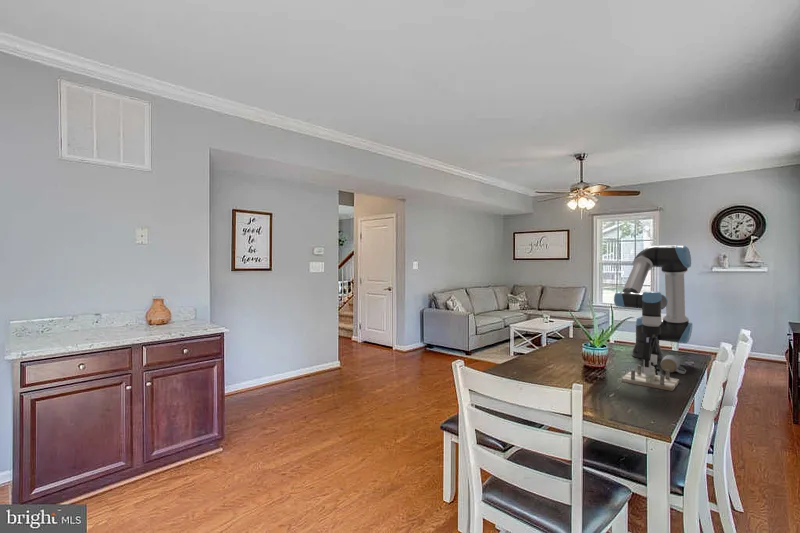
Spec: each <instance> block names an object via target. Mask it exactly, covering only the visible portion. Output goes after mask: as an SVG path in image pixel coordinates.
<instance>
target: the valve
mask: <svg viewBox="0 0 800 533" xmlns="http://www.w3.org/2000/svg"><path fill="white" fill-rule="evenodd" d="M653 366H654V367H653ZM658 367H659V365H658V363H657V364H656V365H653V362H651V375H648V374H645V376H646V381H647V382H654V381H655V376H656V375H657V376H659V373H658V372H660V371H661V369H660V368H658Z"/></svg>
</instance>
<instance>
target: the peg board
mask: <svg viewBox="0 0 800 533" xmlns="http://www.w3.org/2000/svg"><path fill="white" fill-rule="evenodd" d="M636 367H637V371H636V370H635V369H631V370H630V371H629V372H627V373H626V374H625V375H623V376H622V377H621V382H623V383H628V384H633V385H639V386H644V387H650V388H655V389H659V390H666V391H670V392H673V391H674V389H676V387H677V386H678V385H679V383H680V378H679V379H678V378H673V377H670V376H671V375H670V374H671V373H670V370H667V369H666V372H665V374H664V375H663V374H659V375H656V376H655V381H654V382H647V381H646V376H645V374H643V372H642V365H640V364H637V366H636Z"/></svg>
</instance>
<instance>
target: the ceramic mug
mask: <svg viewBox="0 0 800 533" xmlns="http://www.w3.org/2000/svg"><path fill="white" fill-rule="evenodd" d="M660 368H661V369H662V371H664V372H665V373H666V369H667V370H670V374H671V373H675V372H677V373H678V374H682V375H686V372H687V369H685V368H684V367H683V366H681V361H680V360H679V358H678V357H677V356H675V355H673V354H667V355H665V356H663V359H661V361H660Z"/></svg>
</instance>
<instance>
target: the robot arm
mask: <svg viewBox="0 0 800 533" xmlns="http://www.w3.org/2000/svg"><path fill="white" fill-rule="evenodd" d="M632 261H633V262H632V269H631V271H630V273H629V275H628V277H627V280H626V282H625V285H624V287H623V289H622V291H616V292H615V294H614V296H613V297H614V298H613V303H614V305H615V306H616V307H617V308H618V307H620V308H628V309H640V310H641V313H642V314H641V316H640V317H637V318H636V321H635V343H634V345H633V348H632V350H631V356H633V357H635V358H637V359H641V360H643V372H642V373H643V374H648V375H651V362H653V365H656V364H657V365H658V360H659V361H660V360H661V361H662V359H663V358H664V355H663V352H662V349H661V346H660V341H662V342H663V341H664V342H670V343H677V344H680V343H681V344H687V343H689V342H690V339H691V336H692V332H693V323H692V322H690V319H689V317H687V315H686V305H685V303H686V301H685V296H686V295H685V294H686V293H685V274H686V272H688V270H689V268H691V267H692V257H691V252H690V249H689V247H688V246H686V245H678V244H677V245H672V244H671V245H651V246H649V247H646V248H644V249H641V251H640V252H639V253H638V254H636V256H635V257H634V259H633V260H632ZM652 268H661V272H662V273H664V282H665V283H664V284H665V285H664V286H665V294H663V293H662V292H661V291H653V290H647V291H646V290H645V291H643V292H641V291H642V289H643V286H644V283H645V281H646V279H647V276H648V273H649V271H651V270H652ZM664 309H665V312H666V313H665V314H666V315H664V316H663V318H662V310H664ZM653 367H654V366H653Z"/></svg>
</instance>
